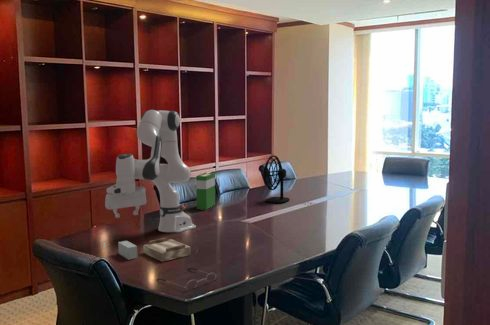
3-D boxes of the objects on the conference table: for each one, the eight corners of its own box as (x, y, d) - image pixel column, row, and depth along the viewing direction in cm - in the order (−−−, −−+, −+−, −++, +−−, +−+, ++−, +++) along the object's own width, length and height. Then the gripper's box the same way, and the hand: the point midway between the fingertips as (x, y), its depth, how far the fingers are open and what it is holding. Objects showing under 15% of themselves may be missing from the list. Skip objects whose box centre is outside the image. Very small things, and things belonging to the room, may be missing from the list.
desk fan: (273, 197, 379) (274, 153, 375) (294, 199, 371) (294, 154, 367) (258, 203, 356) (258, 156, 352) (279, 205, 347) (279, 158, 343)
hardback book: (205, 204, 351) (205, 172, 348) (215, 205, 349) (214, 172, 346) (196, 209, 334) (196, 176, 331) (206, 210, 332) (206, 176, 329)
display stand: (171, 246, 246) (171, 236, 246) (190, 254, 233) (190, 243, 232) (143, 252, 236) (143, 242, 235) (162, 261, 223) (162, 250, 222)
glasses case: (127, 252, 238) (126, 240, 237) (137, 258, 228) (137, 246, 228) (118, 253, 235) (118, 242, 234) (128, 260, 226) (128, 247, 225)
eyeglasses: (185, 292, 187) (185, 283, 186) (156, 282, 199) (155, 273, 199) (218, 280, 200) (217, 271, 200) (188, 271, 213) (188, 262, 212)
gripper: (142, 184, 237) (142, 212, 238) (103, 189, 224) (104, 218, 225) (148, 186, 232) (149, 214, 234) (108, 191, 219) (109, 220, 220)
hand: (126, 216), depth 229 cm, fingers open, 8 cm apart
